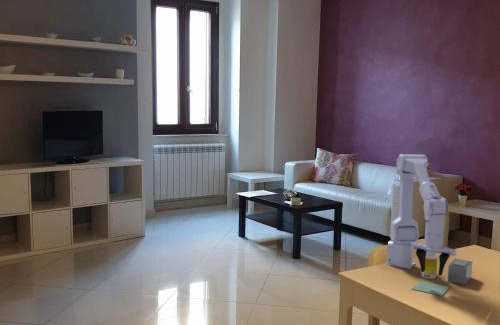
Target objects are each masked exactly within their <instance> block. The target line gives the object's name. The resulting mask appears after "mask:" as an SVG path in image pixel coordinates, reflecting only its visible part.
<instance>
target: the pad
mask: <svg viewBox="0 0 500 325" xmlns="http://www.w3.org/2000/svg"><path fill="white" fill-rule="evenodd" d="M449 289H450V286H447V285H443V284H436V283H432V282H427V281H423V280H420V281H418V282H417V283H416V284H415V285H414V286H413V287H412V288H411V290H414V291H418V292H422V293H426V294H431V295H436V296H441V297H443V296H444V295H445V294H446V293H447V291H448V290H449Z"/></svg>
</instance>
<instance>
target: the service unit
mask: <svg viewBox="0 0 500 325" xmlns="http://www.w3.org/2000/svg"><path fill="white" fill-rule="evenodd" d="M472 272H473V261H471V260H466V259H460V258H454V259H453V260H452V261H451V262H450V263H449V264H448V273H447V282H449V283H452V282H453V283H452V284H458V285H463V286H466V285H467V284H468V283H469V282H470V280H471V279H472Z"/></svg>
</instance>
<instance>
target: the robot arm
mask: <svg viewBox="0 0 500 325" xmlns="http://www.w3.org/2000/svg"><path fill="white" fill-rule="evenodd" d="M428 165H429V164H428V157H427V156H426V154H424V153H423V154H406V153H405V154H403V153H400V154H399V155H398V156H397V159H396V174H397V175H398V176H399V204H398V217H396V218H395V219H394V220H392V221H391V223H390V230H389V238H390V240H389V241H388V243H387V246H386V262H385V265H389V266H393V267H399V268H403V269H409V270H410V269H412V267H414V266H415V265H416V262H413V258H414V255H413V254H414V250H415V255H416V256H417V260H418V262H419V266H420V270H421V272H424V271H425V259H426V252H427V251H430V252H435V254H436V253H437V254H440V255H439V257H438V259H439V261H438V262H439V264H438V265H439V267H438V268H439V269H438V275H439V276H442V275H443V272H444V268H445V266H446V264H447V261H448V260H449V258H450V256H451V257H456V256H457V249H455V248H451V247H447V246H443V242H444V240H443V239H444V228H445V227H444V226H445V216H446V215H448V212H449V203H448V200H447V198H445V197H443V196H441V194H440V192H439V191H438V187H437V186H436V184H435V183H434V182H432V181H431V180H430V176H429V174H428V171H427V169H428ZM414 179H416V181H417V182H418V184H419V187H418V191H419V194H420V197H421V199H422V201H423V213H424V220H425V229H424V231H425V233H424V242H422V243H421V242H418V240H419V238H420V231H419V224H418V222H417V221H416V220H414V219H413V201H414V200H413V199H414Z"/></svg>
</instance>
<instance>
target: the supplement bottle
mask: <svg viewBox="0 0 500 325" xmlns="http://www.w3.org/2000/svg"><path fill="white" fill-rule="evenodd" d="M437 270H438V255H437V254H436V253H435V252H430V251H427V252H426V259H425V271H424V272H421V269H419V271H420V272H419V275H420V277H421V278H424V279H427V280H432V279H436V278H437Z"/></svg>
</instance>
